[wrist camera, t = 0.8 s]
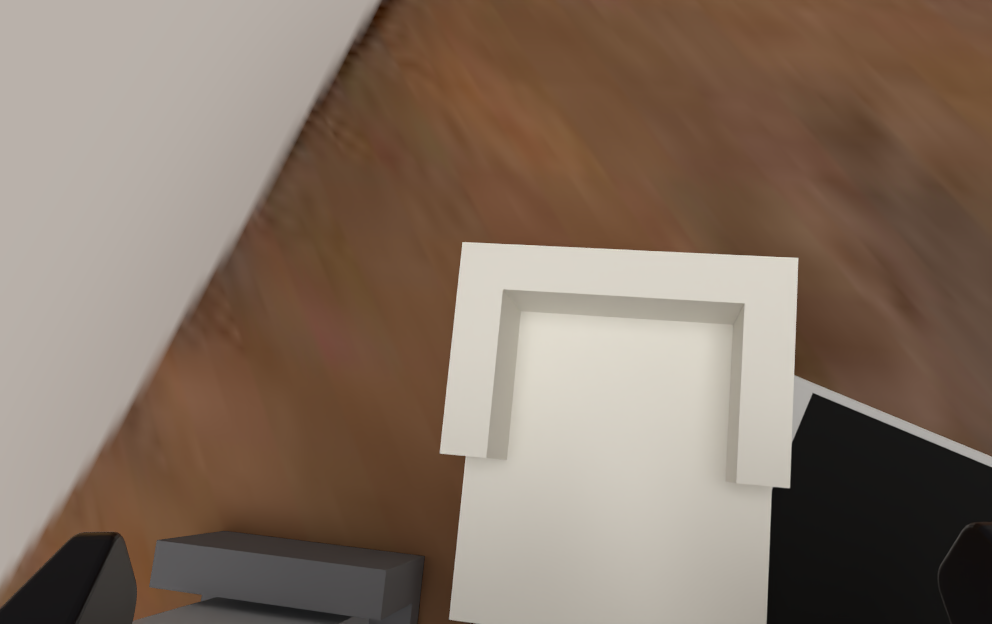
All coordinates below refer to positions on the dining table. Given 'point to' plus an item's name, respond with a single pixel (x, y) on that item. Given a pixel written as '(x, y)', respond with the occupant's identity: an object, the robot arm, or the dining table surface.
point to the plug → (245, 614)
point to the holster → (292, 574)
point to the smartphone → (867, 515)
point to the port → (618, 433)
